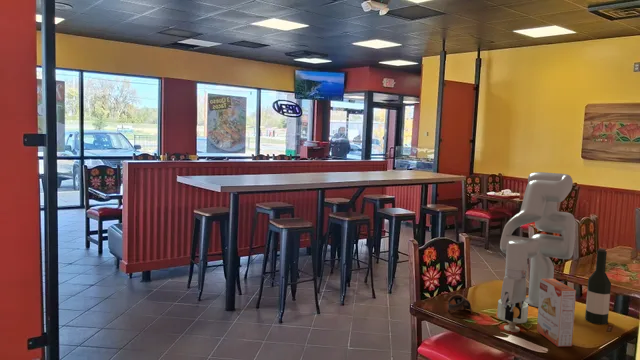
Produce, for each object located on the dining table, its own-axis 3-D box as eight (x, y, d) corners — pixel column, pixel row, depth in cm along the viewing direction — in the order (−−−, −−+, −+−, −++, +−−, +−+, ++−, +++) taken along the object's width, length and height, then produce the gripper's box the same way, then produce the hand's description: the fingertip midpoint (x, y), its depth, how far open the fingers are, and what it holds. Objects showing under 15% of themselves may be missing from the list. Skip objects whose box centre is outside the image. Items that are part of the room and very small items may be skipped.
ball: (511, 314, 188) (511, 303, 188) (521, 318, 185) (522, 307, 184) (504, 316, 186) (505, 305, 185) (514, 320, 182) (515, 309, 182)
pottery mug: (476, 317, 198) (468, 301, 196) (454, 325, 200) (446, 309, 198) (469, 300, 210) (462, 285, 207) (448, 308, 212) (441, 293, 209)
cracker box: (535, 331, 184) (539, 277, 182) (550, 331, 185) (554, 278, 183) (556, 347, 170) (560, 289, 168) (572, 347, 171) (577, 289, 169)
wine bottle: (588, 315, 203) (594, 245, 200) (610, 321, 197) (616, 249, 194) (581, 320, 197) (587, 248, 195) (604, 326, 191) (610, 252, 189)
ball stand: (509, 325, 189) (510, 318, 189) (522, 330, 185) (523, 322, 184) (501, 328, 186) (501, 320, 186) (514, 333, 181) (514, 325, 181)
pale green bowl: (508, 311, 205) (509, 296, 205) (533, 319, 196) (534, 304, 195) (491, 316, 199) (492, 301, 198) (516, 325, 189) (517, 309, 189)
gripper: (519, 267, 191) (516, 311, 193) (493, 273, 182) (491, 320, 183) (537, 272, 185) (534, 317, 187) (511, 279, 176) (508, 327, 177)
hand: (512, 318), depth 185 cm, fingers closed on ball, 4 cm apart
